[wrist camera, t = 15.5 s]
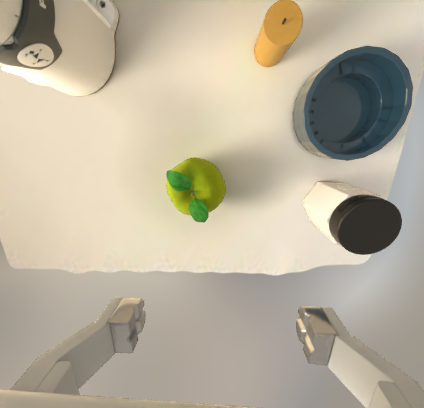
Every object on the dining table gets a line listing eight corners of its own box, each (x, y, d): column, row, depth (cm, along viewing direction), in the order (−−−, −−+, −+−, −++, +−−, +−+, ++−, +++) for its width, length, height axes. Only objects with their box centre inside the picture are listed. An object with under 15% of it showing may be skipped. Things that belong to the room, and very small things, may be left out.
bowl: (277, 94, 33) (287, 86, 28) (368, 40, 30) (396, 21, 25) (310, 172, 37) (324, 177, 32) (394, 130, 34) (423, 128, 29)
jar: (354, 181, 37) (415, 200, 25) (345, 222, 39) (395, 256, 28) (305, 180, 37) (342, 197, 26) (298, 221, 40) (329, 253, 28)
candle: (249, 43, 31) (258, 10, 23) (276, 25, 30) (296, -16, 22) (261, 73, 32) (274, 51, 24) (288, 56, 31) (311, 28, 24)
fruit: (191, 212, 40) (181, 235, 31) (166, 171, 38) (147, 181, 28) (232, 191, 38) (236, 208, 29) (209, 147, 36) (204, 149, 27)
